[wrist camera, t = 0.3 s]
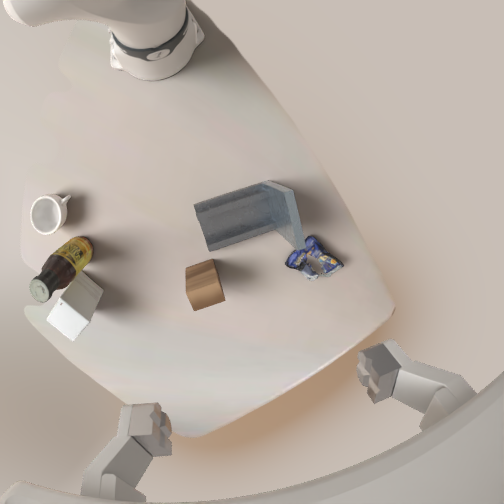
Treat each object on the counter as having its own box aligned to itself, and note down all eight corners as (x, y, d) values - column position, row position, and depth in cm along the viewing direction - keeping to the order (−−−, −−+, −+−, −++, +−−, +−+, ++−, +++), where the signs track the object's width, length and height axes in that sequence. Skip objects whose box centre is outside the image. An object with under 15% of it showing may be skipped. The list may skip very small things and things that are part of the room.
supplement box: (65, 289, 53) (44, 319, 42) (81, 268, 53) (60, 296, 41) (88, 310, 56) (72, 343, 44) (105, 290, 56) (90, 322, 44)
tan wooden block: (185, 268, 58) (185, 293, 48) (212, 258, 58) (218, 281, 48) (192, 284, 59) (194, 311, 49) (218, 275, 60) (225, 300, 50)
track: (193, 204, 54) (195, 221, 41) (268, 180, 55) (293, 189, 42) (209, 250, 58) (216, 279, 45) (280, 225, 59) (306, 247, 46)
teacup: (53, 234, 49) (43, 242, 44) (36, 205, 46) (24, 211, 41) (85, 208, 49) (76, 214, 44) (67, 177, 46) (56, 180, 41)
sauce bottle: (97, 240, 52) (61, 282, 33) (91, 266, 53) (57, 316, 35) (70, 229, 49) (26, 267, 31) (65, 256, 51) (24, 301, 33)
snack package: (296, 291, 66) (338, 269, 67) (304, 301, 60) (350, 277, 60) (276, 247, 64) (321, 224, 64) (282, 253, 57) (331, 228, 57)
